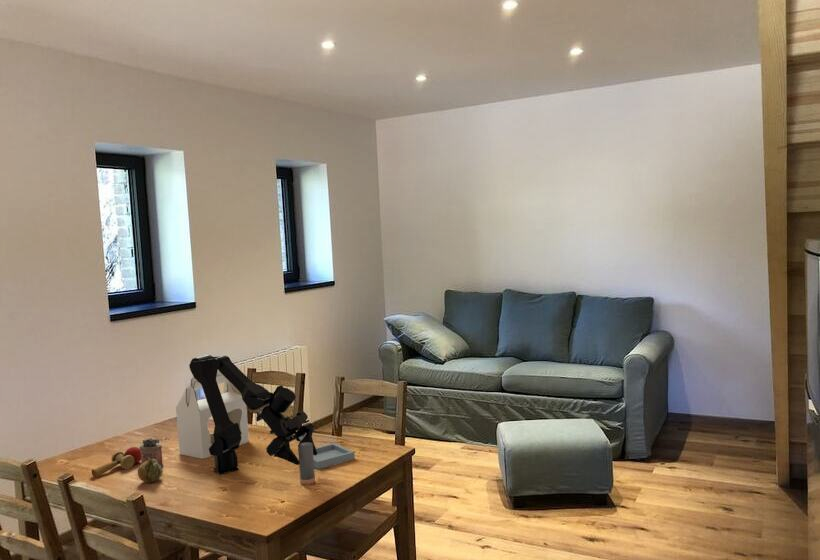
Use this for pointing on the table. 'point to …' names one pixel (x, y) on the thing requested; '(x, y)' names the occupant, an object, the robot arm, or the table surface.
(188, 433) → the gable box
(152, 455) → the lighter
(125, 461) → the kendama
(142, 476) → the olive green lumpy ball
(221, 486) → the table surface
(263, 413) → the robot arm
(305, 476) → the grey rounded peg
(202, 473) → the table surface
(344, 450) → the tray
